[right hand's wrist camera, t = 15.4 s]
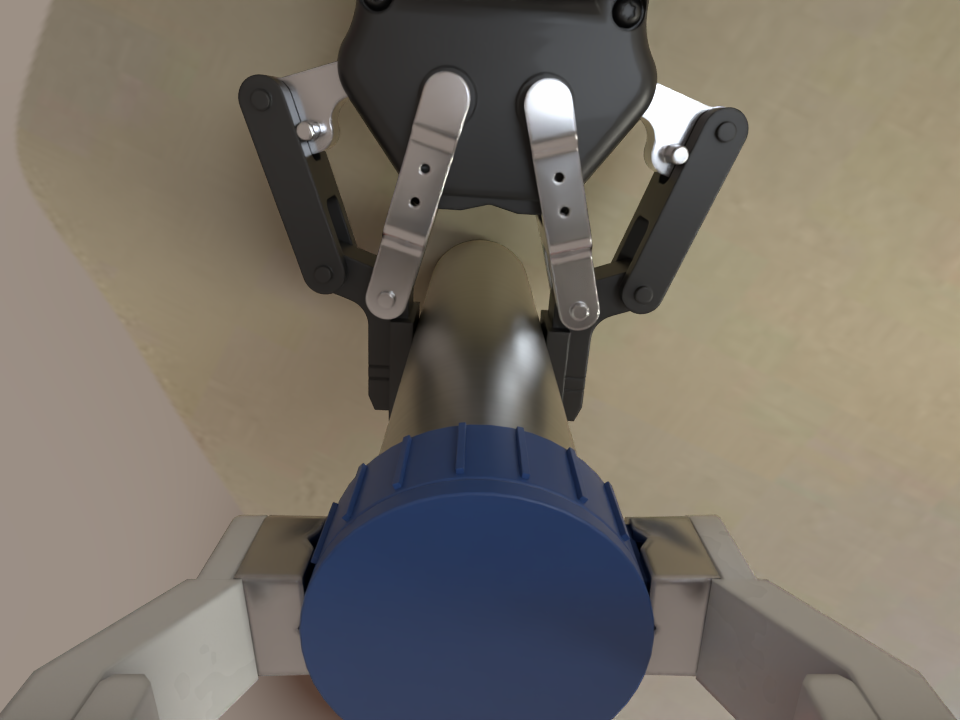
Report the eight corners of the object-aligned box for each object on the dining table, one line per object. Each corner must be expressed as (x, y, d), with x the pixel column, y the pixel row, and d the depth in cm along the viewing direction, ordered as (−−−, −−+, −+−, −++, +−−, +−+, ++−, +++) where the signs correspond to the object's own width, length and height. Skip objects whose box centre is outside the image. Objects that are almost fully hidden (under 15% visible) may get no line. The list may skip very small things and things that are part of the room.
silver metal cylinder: (512, 226, 25) (576, 461, 8) (539, 318, 27) (641, 679, 10) (416, 256, 26) (294, 537, 9) (448, 345, 27) (395, 734, 10)
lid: (323, 407, 10) (287, 475, 8) (656, 433, 10) (695, 505, 8) (324, 658, 11) (296, 761, 10) (604, 677, 12) (627, 780, 10)
